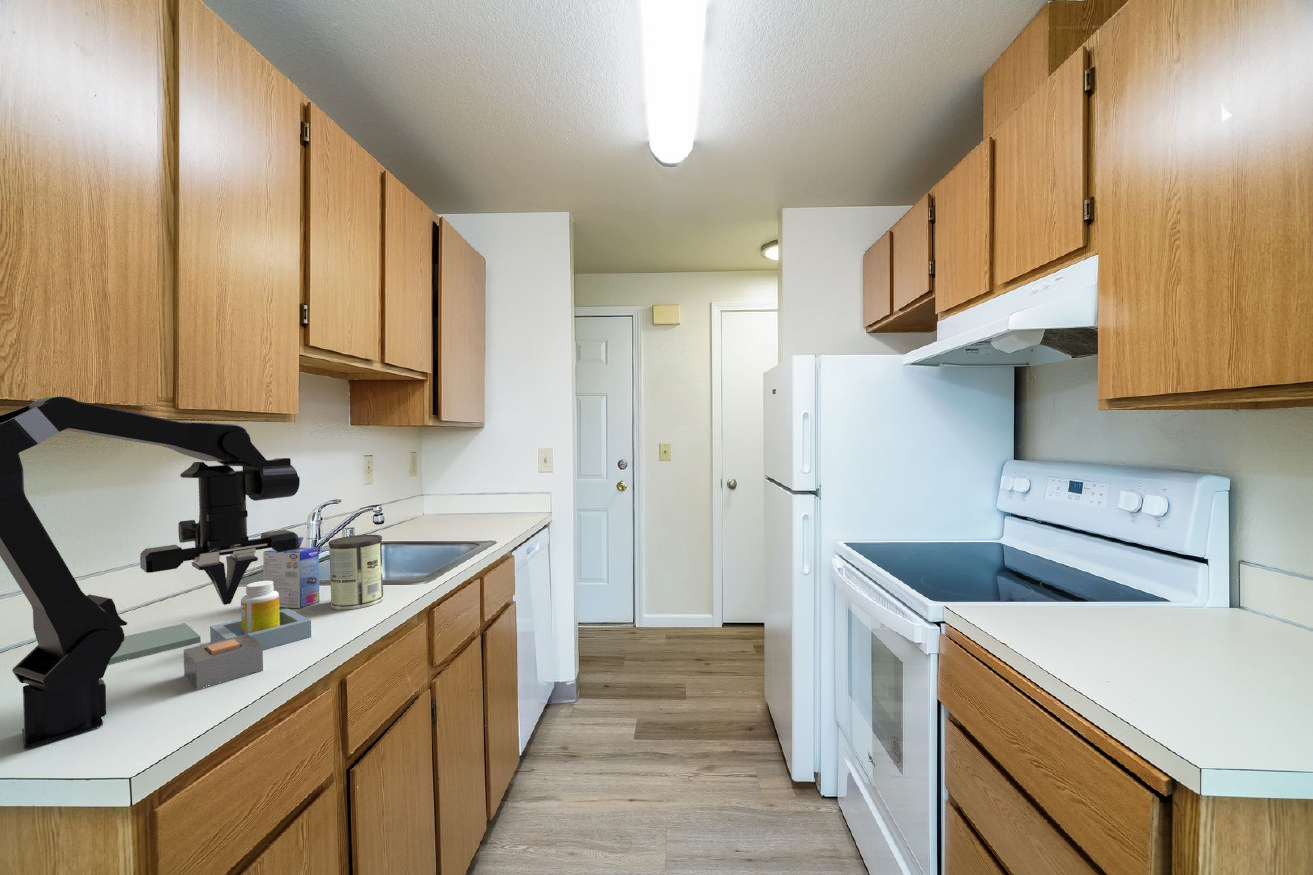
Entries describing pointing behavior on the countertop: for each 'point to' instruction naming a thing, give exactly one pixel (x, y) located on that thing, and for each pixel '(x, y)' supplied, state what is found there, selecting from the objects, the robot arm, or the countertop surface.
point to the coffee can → (356, 571)
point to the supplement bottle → (259, 607)
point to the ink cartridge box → (293, 575)
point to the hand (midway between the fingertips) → (226, 603)
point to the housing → (267, 630)
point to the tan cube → (222, 646)
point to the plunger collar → (222, 662)
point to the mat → (155, 642)
